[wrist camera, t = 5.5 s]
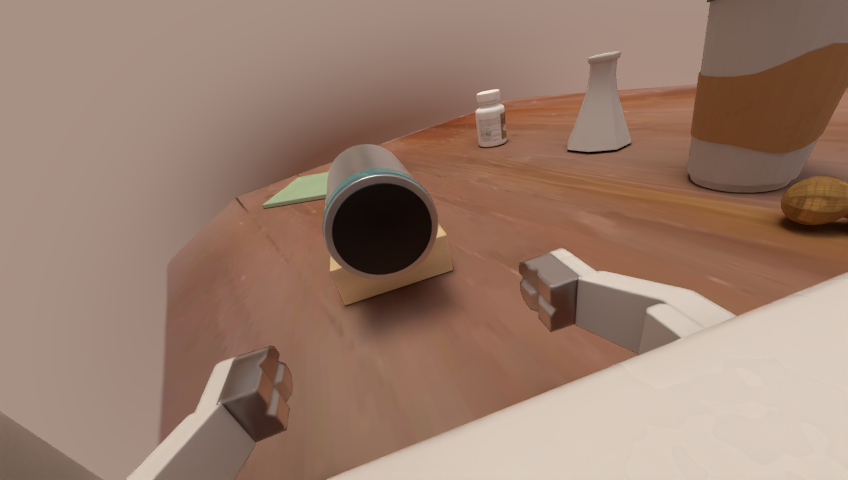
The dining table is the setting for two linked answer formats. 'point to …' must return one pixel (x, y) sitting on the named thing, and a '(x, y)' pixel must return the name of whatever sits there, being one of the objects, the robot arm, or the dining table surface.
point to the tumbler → (376, 214)
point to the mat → (301, 191)
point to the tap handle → (816, 200)
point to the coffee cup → (766, 90)
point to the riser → (363, 288)
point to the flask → (600, 110)
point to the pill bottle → (490, 119)
